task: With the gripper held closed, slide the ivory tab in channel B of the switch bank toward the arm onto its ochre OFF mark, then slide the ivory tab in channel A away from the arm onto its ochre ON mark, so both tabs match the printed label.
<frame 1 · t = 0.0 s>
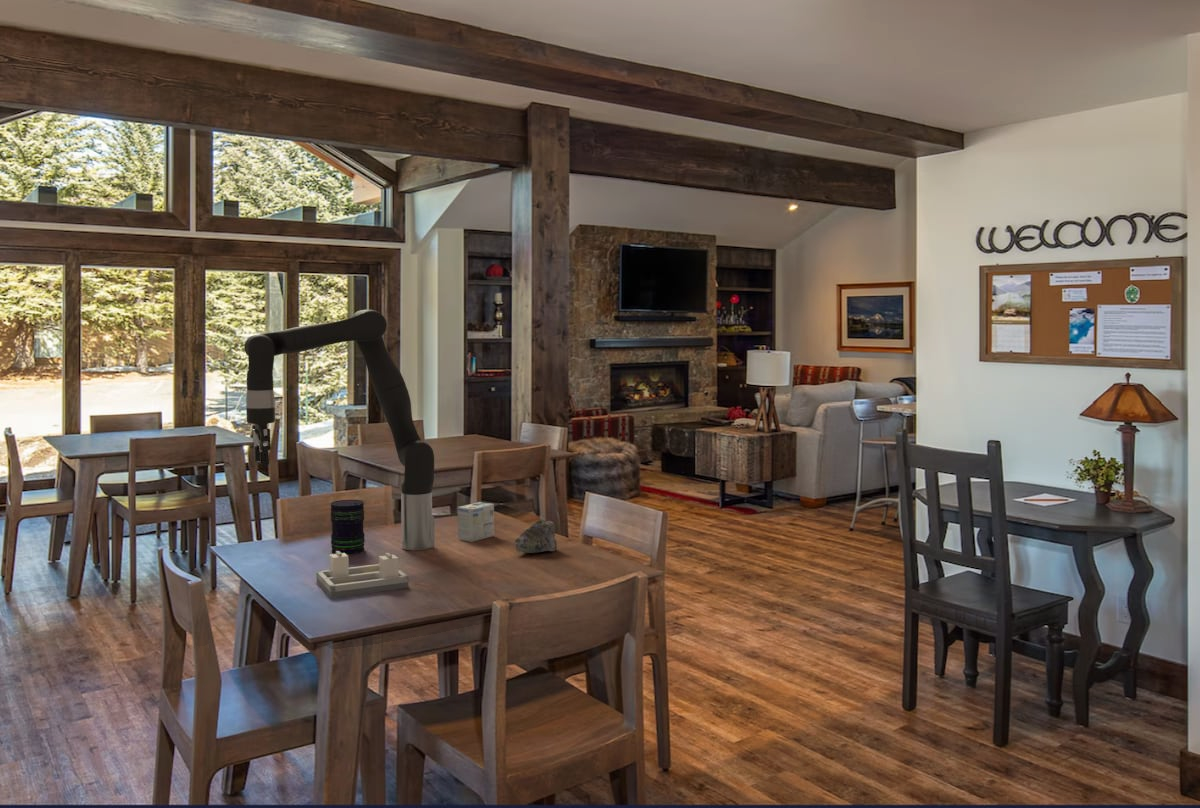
hand: (262, 463, 262), 29 cm above the table, fingers open, 8 cm apart
switch bank: (362, 585, 244), on the table
tab A: (388, 566, 243), point 5 cm above the table, slide at 0.0 cm
light bulb box: (476, 538, 300), on the table
storage jar: (348, 552, 281), on the table
mineral rock: (535, 552, 282), on the table
tab B: (339, 564, 245), point 5 cm above the table, slide at 0.0 cm
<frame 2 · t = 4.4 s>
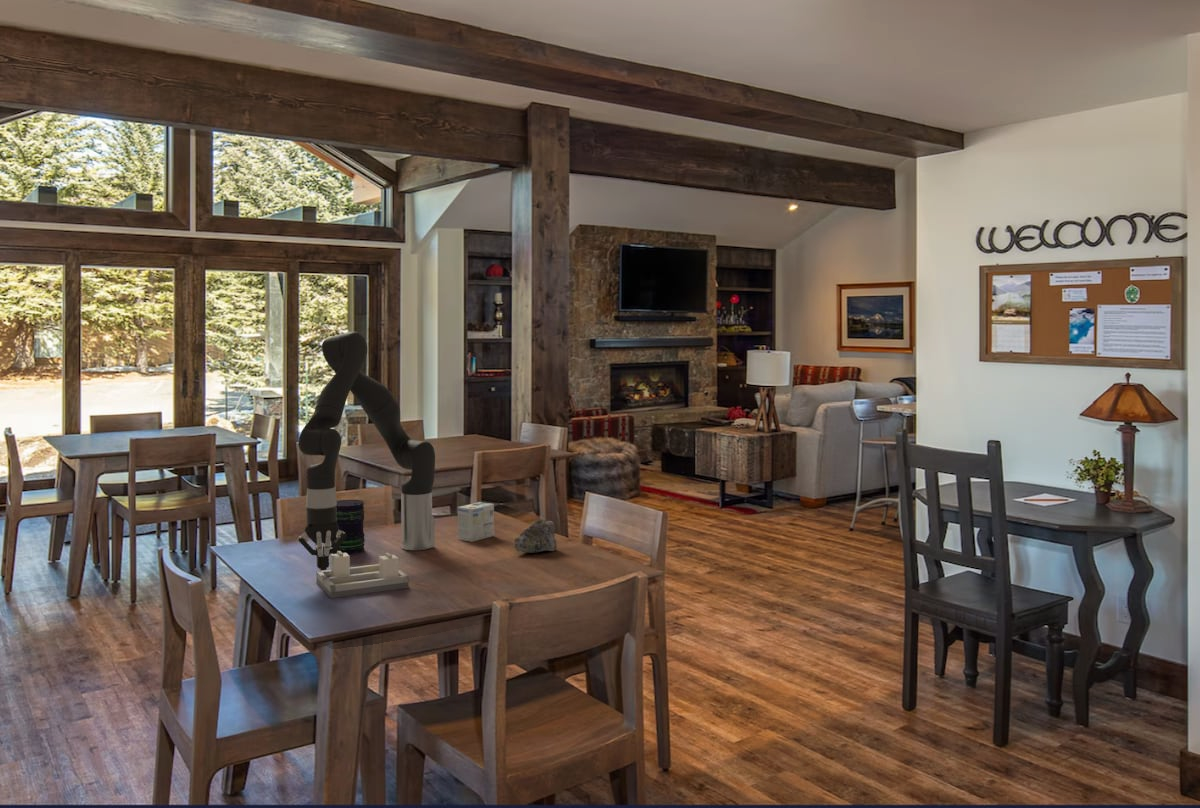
hand: (322, 569, 243), 4 cm above the table, fingers closed
tab B: (340, 564, 245), point 5 cm above the table, slide at 0.3 cm, touching gripper
everything else where it was.
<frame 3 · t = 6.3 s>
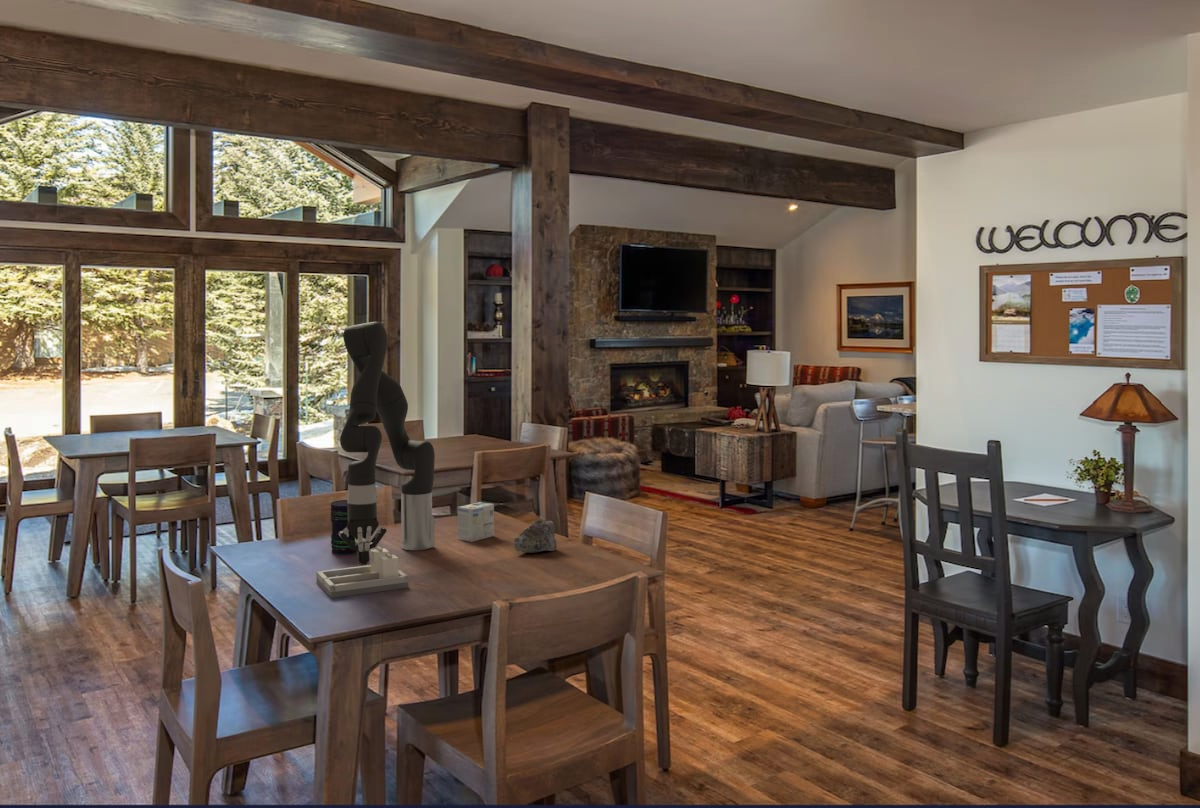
hand: (363, 564, 248), 4 cm above the table, fingers closed
tab B: (379, 560, 250), point 5 cm above the table, slide at 10.9 cm, touching gripper
everything else where it was.
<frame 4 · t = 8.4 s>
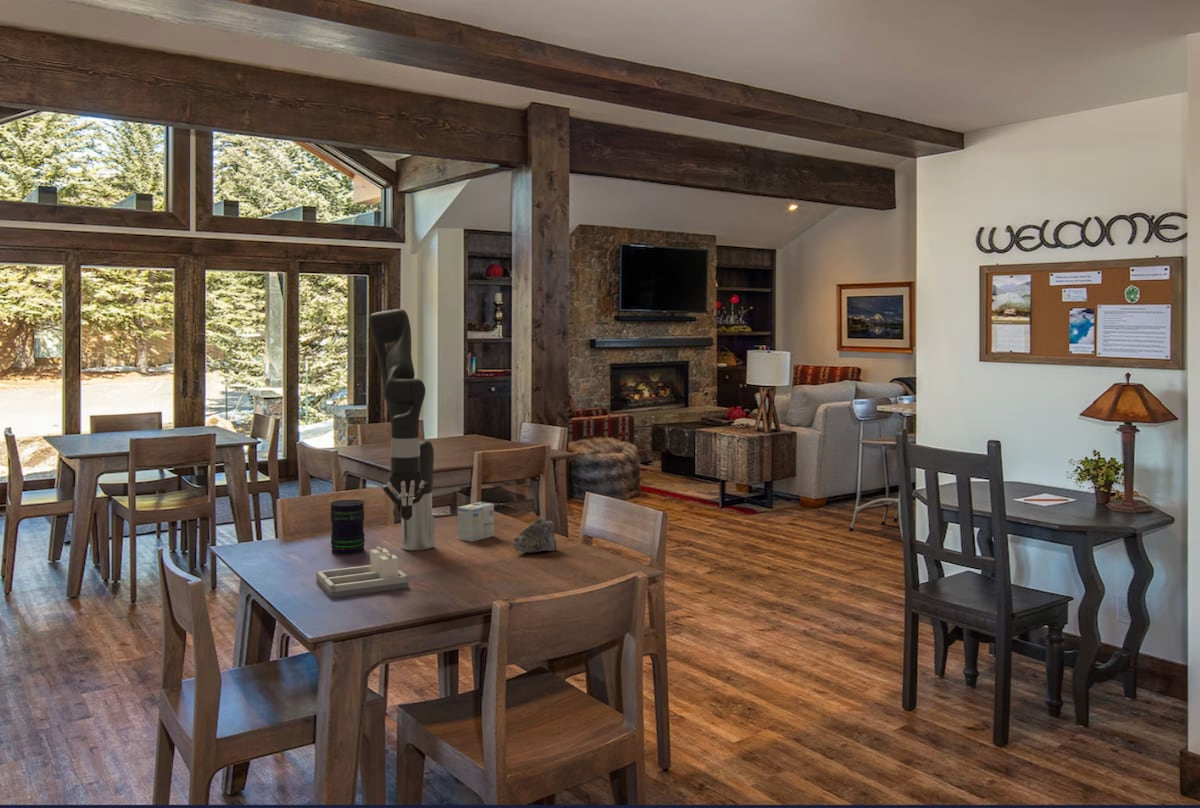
hand: (406, 519, 246), 17 cm above the table, fingers closed
tab B: (379, 560, 250), point 5 cm above the table, slide at 10.9 cm
everything else where it was.
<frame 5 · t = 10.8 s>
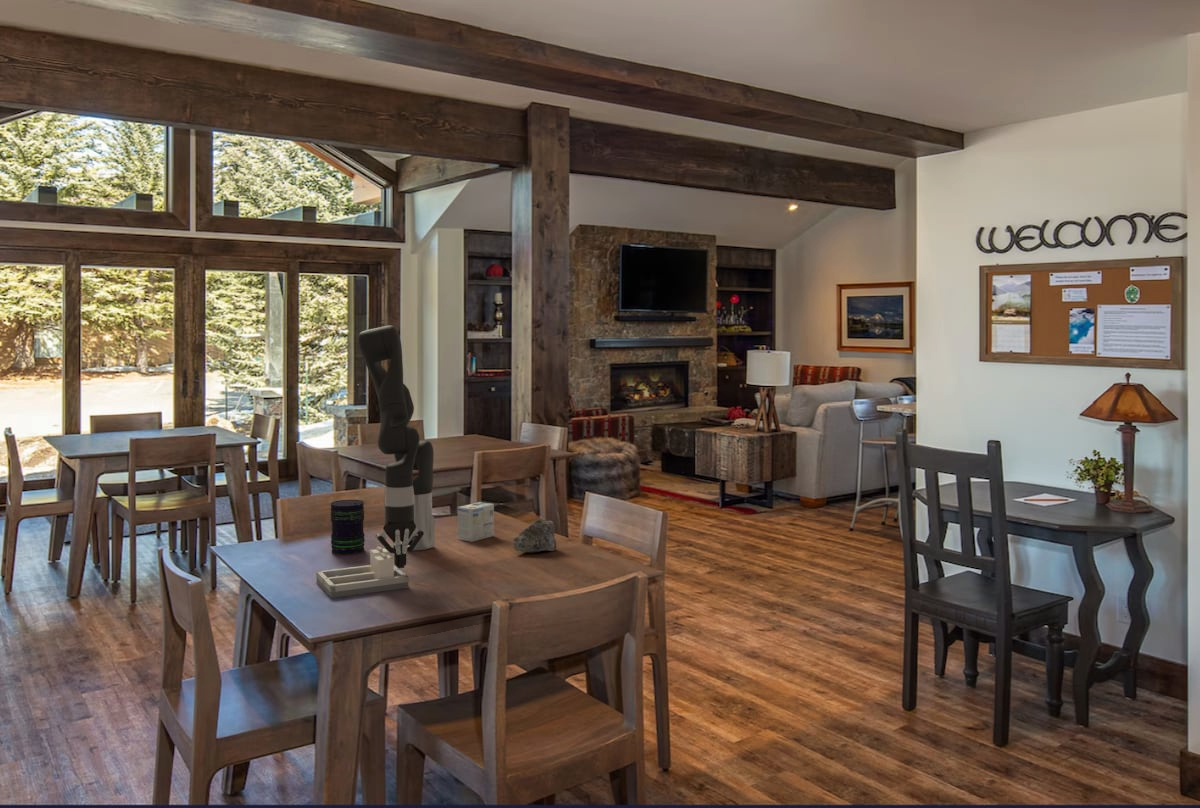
hand: (400, 567, 245), 5 cm above the table, fingers closed
tab A: (383, 567, 243), point 5 cm above the table, slide at 1.3 cm, touching gripper
everything else where it was.
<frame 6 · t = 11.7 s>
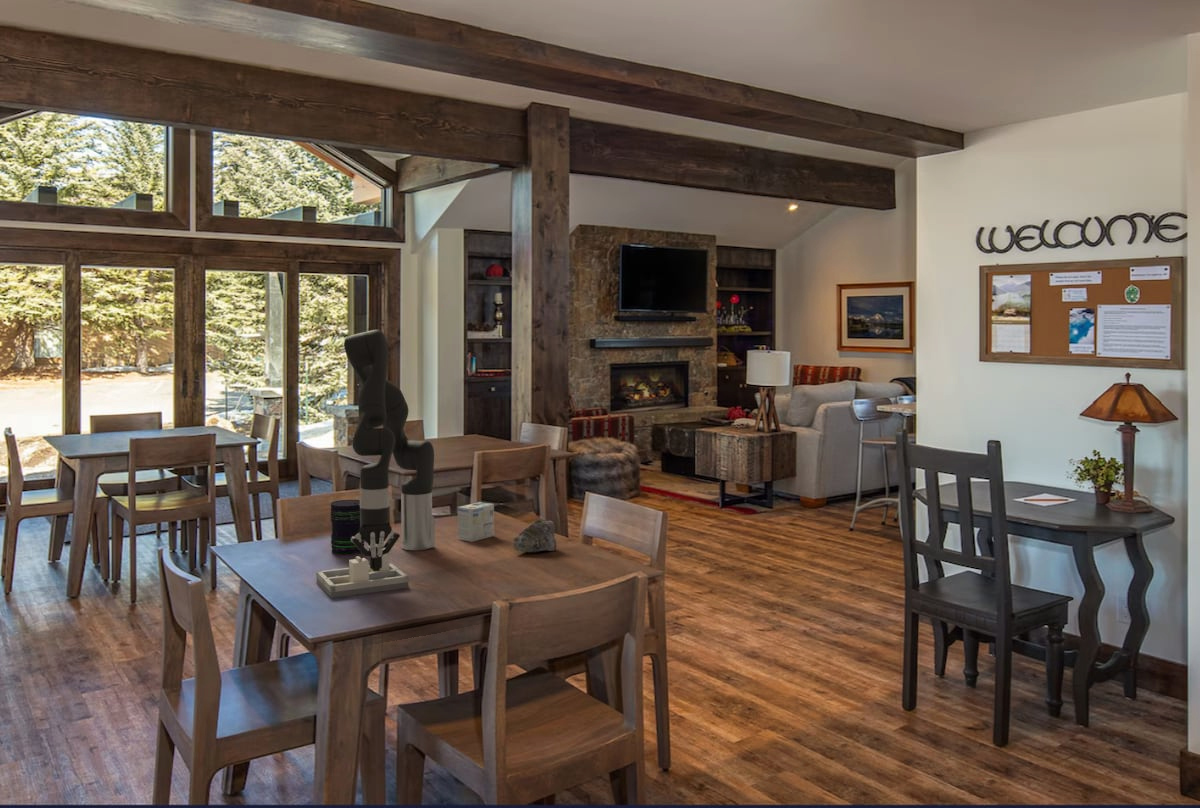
hand: (375, 570, 242), 5 cm above the table, fingers closed
tab A: (358, 570, 240), point 5 cm above the table, slide at 7.8 cm, touching gripper
everything else where it was.
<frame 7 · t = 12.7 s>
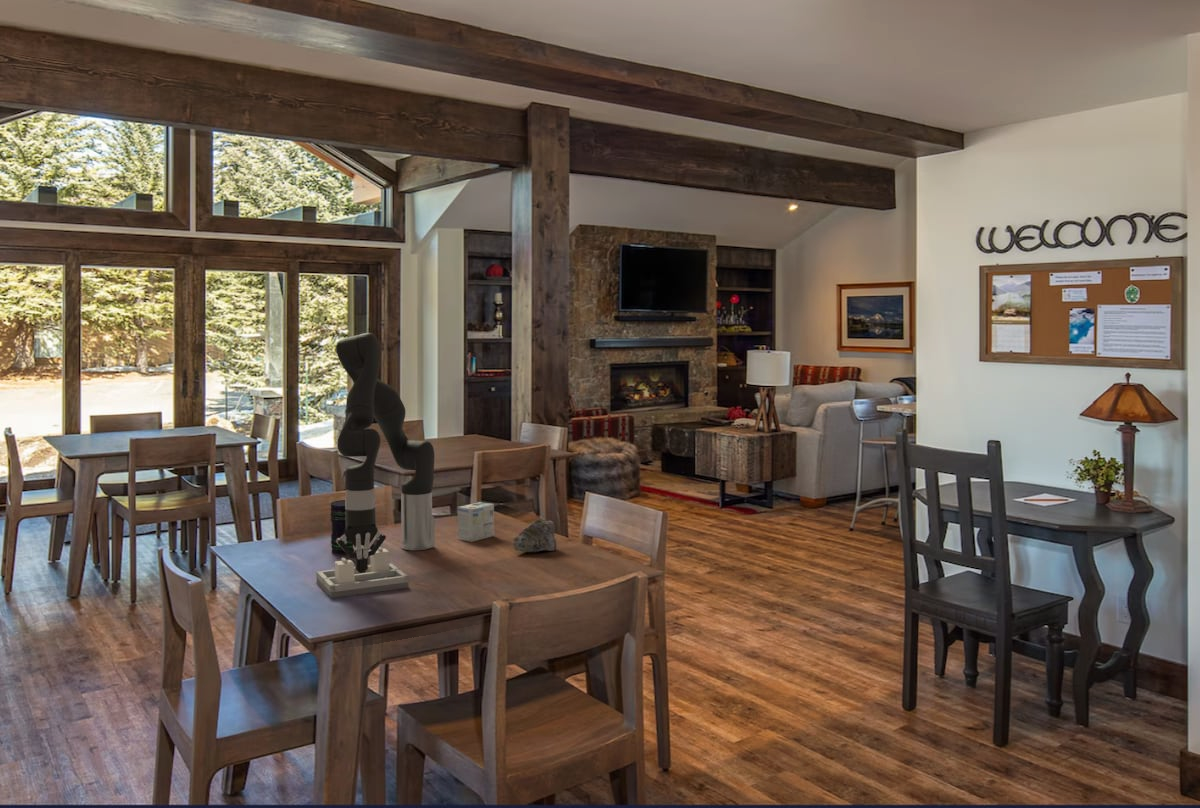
hand: (361, 572, 240), 5 cm above the table, fingers closed
tab A: (344, 572, 238), point 5 cm above the table, slide at 11.5 cm, touching gripper
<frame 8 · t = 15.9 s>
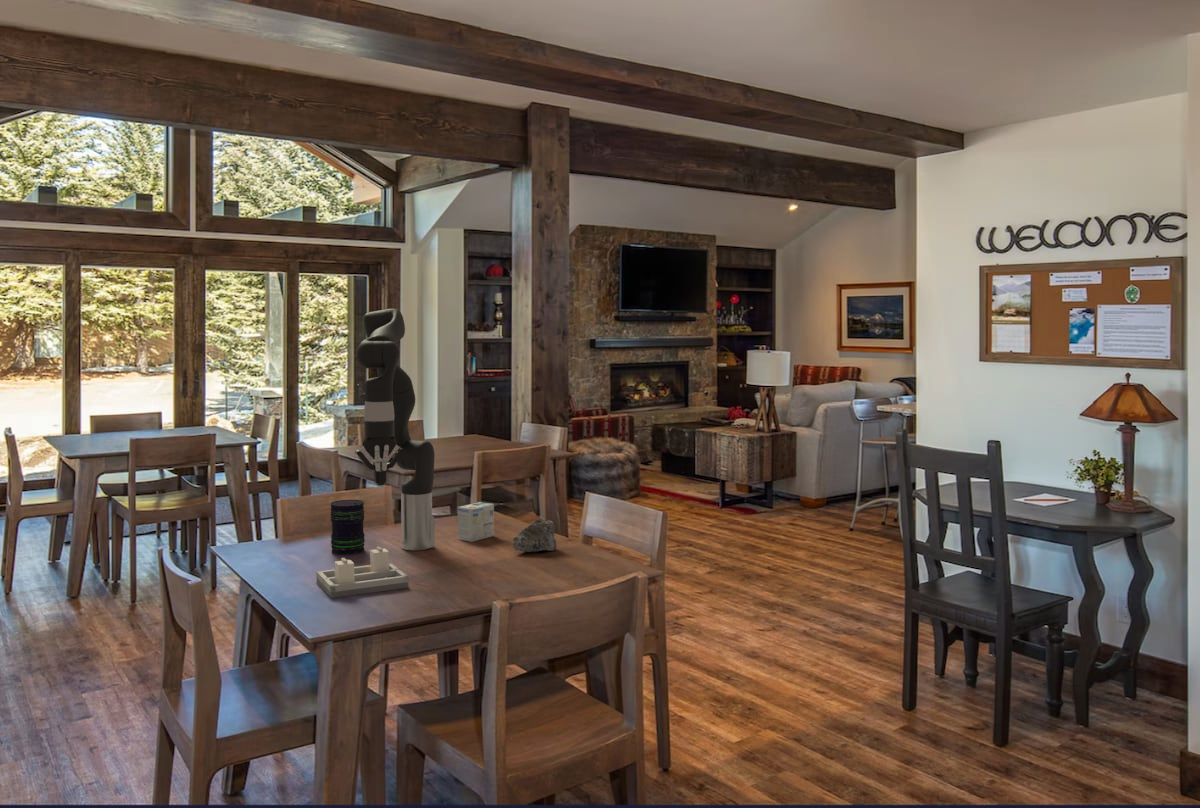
hand: (380, 484, 241), 27 cm above the table, fingers closed
tab A: (344, 572, 238), point 5 cm above the table, slide at 11.5 cm
at the end: tab B slide at 10.9 cm; tab A slide at 11.5 cm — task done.
